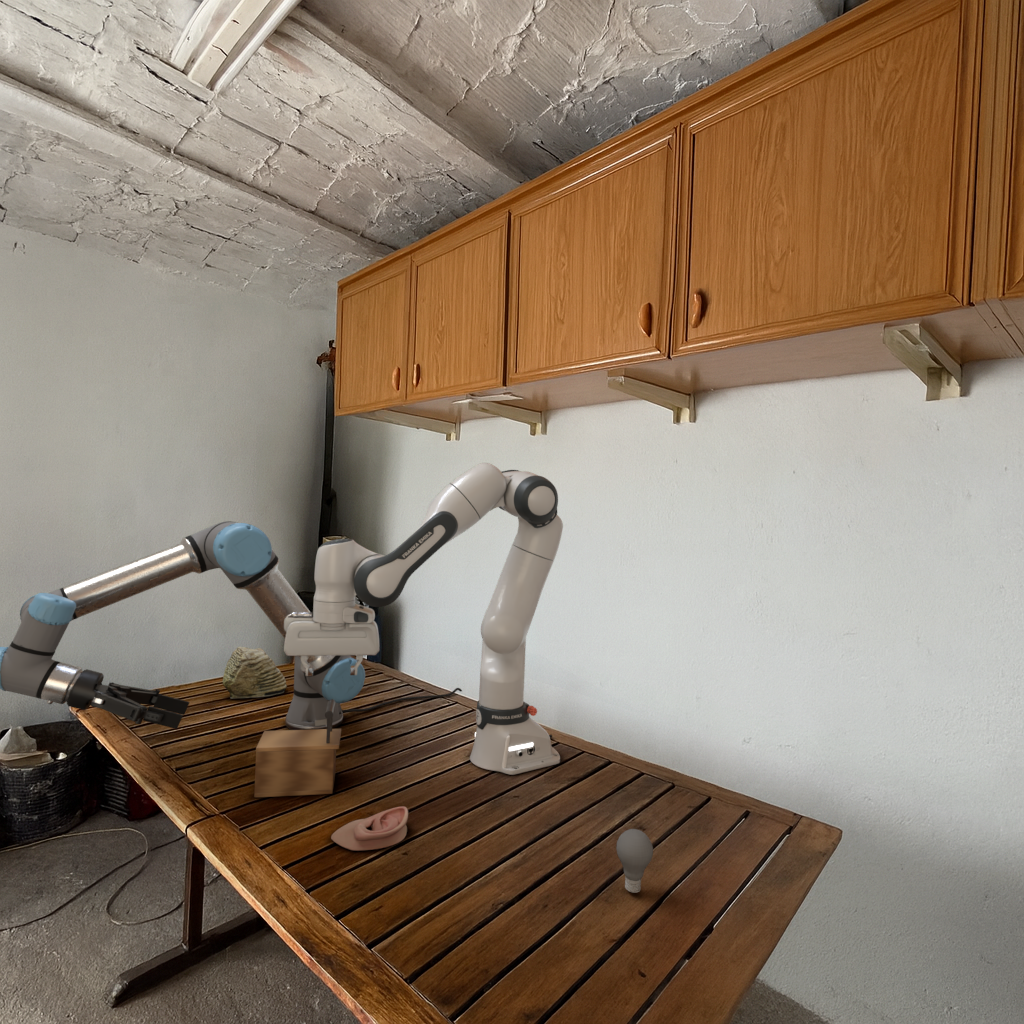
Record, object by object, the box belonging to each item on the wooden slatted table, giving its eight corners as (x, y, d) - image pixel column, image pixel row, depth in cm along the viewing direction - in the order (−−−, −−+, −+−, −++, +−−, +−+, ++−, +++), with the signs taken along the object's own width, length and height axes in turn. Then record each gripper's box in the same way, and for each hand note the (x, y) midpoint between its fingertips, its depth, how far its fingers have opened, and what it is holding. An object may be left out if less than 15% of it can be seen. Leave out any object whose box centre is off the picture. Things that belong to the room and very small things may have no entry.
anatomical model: (323, 824, 115) (352, 795, 126) (322, 845, 115) (351, 815, 126) (392, 835, 112) (415, 805, 123) (391, 857, 112) (414, 825, 123)
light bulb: (610, 879, 108) (613, 822, 108) (644, 879, 109) (647, 822, 109) (619, 902, 102) (622, 840, 102) (655, 901, 103) (658, 840, 103)
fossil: (218, 695, 195) (220, 647, 195) (278, 685, 208) (279, 640, 207) (228, 703, 189) (230, 653, 188) (289, 692, 201) (290, 645, 201)
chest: (335, 774, 145) (337, 732, 145) (332, 793, 135) (334, 749, 135) (262, 777, 142) (264, 734, 141) (254, 797, 132) (255, 752, 132)
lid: (341, 732, 145) (342, 697, 145) (338, 749, 135) (340, 712, 135) (264, 734, 141) (265, 699, 141) (255, 751, 132) (257, 714, 132)
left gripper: (82, 693, 139) (182, 719, 146) (47, 718, 116) (168, 747, 122) (97, 660, 140) (196, 687, 147) (66, 678, 117) (184, 709, 124)
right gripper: (282, 614, 134) (279, 679, 134) (380, 615, 138) (378, 678, 138) (286, 609, 140) (284, 671, 140) (380, 610, 144) (378, 670, 145)
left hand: (183, 714), depth 135 cm, fingers open, 13 cm apart
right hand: (331, 675), depth 139 cm, fingers open, 8 cm apart
